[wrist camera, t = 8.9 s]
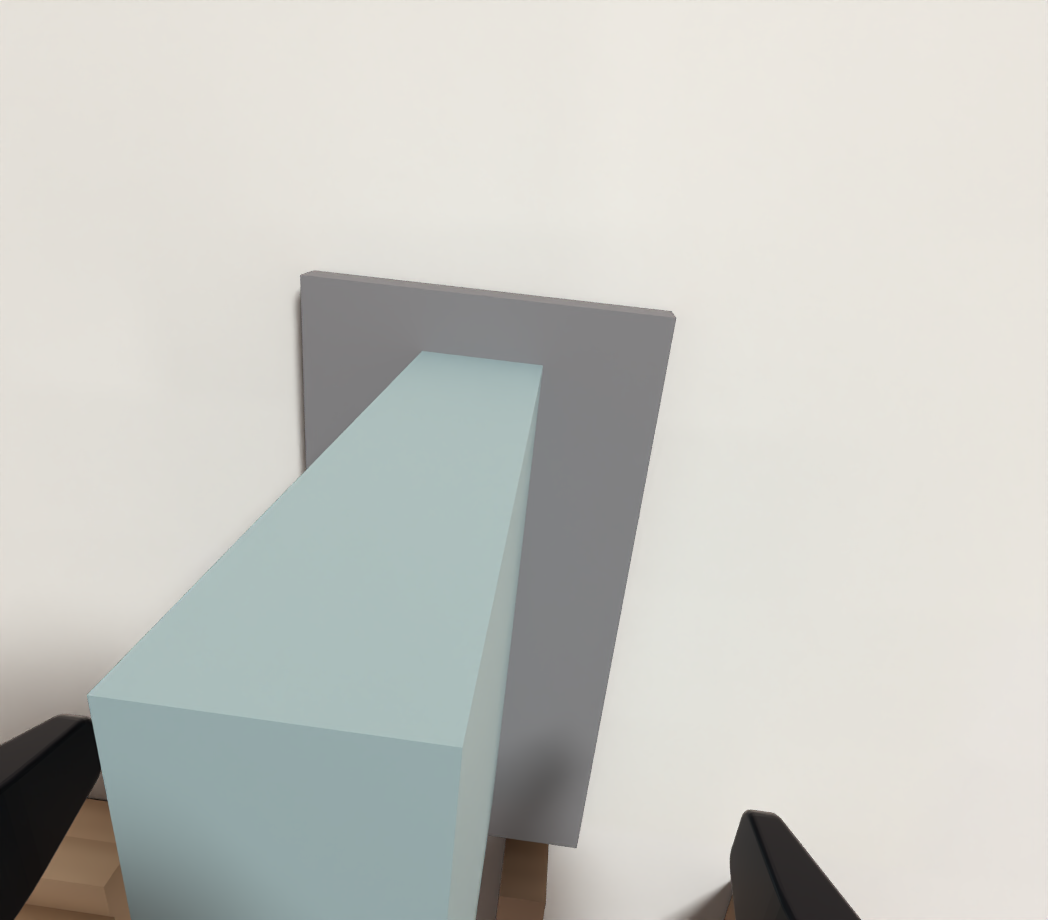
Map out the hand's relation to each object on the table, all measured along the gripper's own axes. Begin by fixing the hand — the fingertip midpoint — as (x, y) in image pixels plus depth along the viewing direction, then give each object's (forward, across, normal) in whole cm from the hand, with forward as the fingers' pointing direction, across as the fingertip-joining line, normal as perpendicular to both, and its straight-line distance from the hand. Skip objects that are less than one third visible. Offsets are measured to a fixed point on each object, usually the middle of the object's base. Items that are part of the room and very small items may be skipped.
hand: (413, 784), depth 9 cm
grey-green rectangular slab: (+4, 0, 0) cm, 4 cm away
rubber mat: (+5, 0, 0) cm, 5 cm away
